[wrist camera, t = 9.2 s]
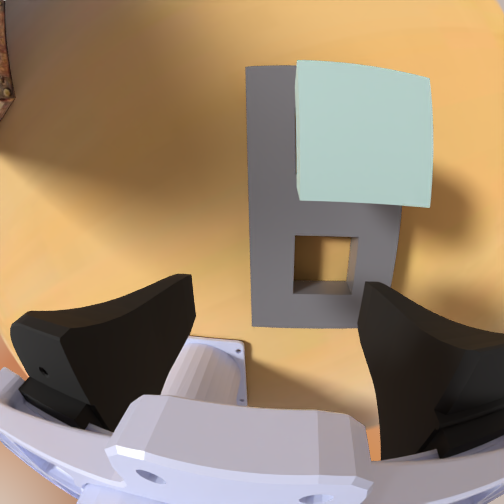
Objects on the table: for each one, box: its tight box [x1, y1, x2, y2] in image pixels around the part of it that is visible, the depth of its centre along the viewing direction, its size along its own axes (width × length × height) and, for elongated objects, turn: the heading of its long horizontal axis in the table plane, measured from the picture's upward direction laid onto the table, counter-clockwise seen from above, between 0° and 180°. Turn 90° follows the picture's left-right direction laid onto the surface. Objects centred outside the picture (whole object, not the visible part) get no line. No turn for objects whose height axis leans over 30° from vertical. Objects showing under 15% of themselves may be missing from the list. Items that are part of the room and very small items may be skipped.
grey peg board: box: [246, 65, 402, 328], centre depth 18 cm, size 18×10×2 cm, turn 2°
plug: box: [295, 60, 433, 208], centre depth 10 cm, size 4×4×6 cm
